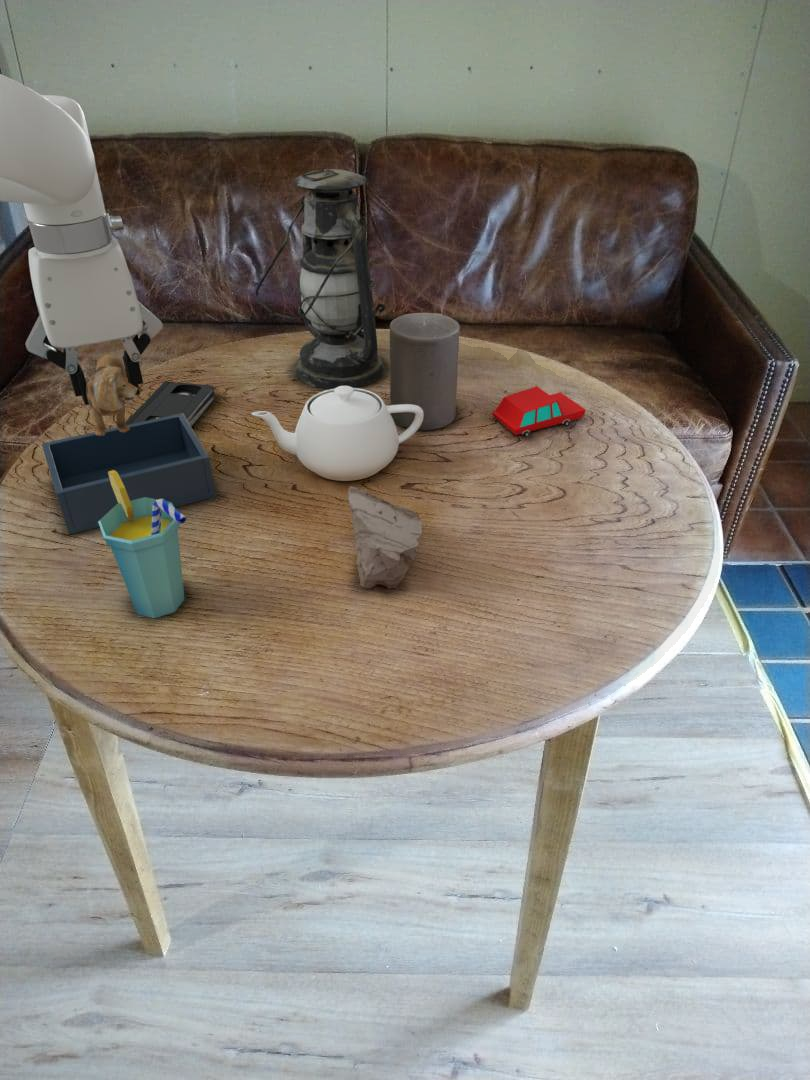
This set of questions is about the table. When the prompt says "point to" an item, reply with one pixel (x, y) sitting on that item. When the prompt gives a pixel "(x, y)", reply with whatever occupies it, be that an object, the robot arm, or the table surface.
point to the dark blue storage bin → (128, 468)
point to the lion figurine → (109, 392)
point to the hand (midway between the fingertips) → (110, 393)
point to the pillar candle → (424, 368)
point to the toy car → (536, 410)
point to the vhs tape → (175, 402)
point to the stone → (382, 538)
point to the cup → (146, 549)
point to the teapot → (344, 433)
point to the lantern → (334, 284)
